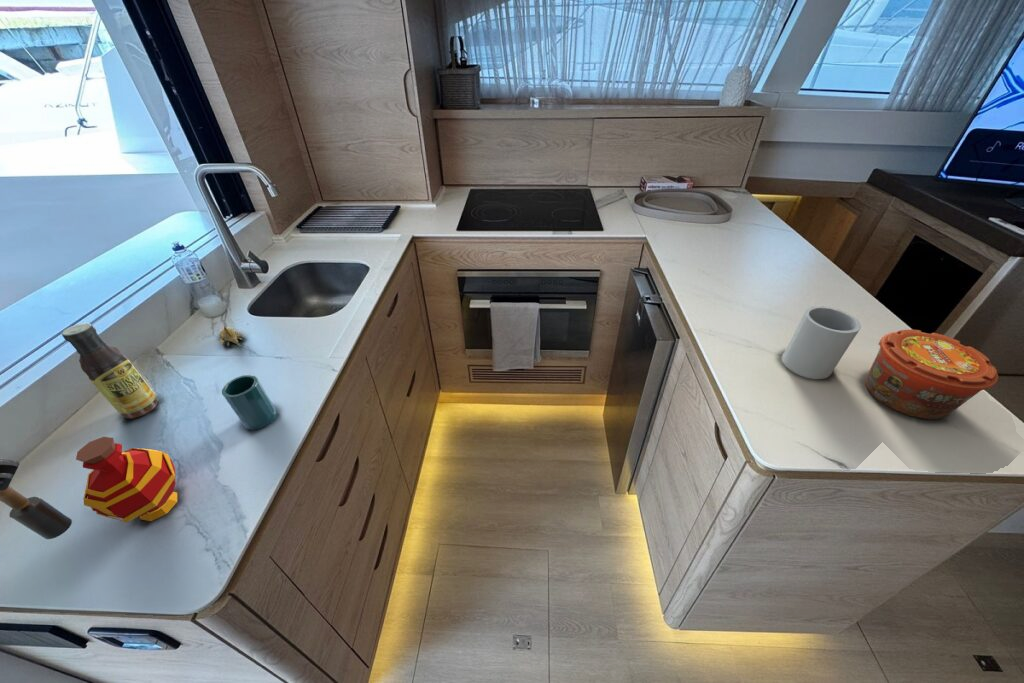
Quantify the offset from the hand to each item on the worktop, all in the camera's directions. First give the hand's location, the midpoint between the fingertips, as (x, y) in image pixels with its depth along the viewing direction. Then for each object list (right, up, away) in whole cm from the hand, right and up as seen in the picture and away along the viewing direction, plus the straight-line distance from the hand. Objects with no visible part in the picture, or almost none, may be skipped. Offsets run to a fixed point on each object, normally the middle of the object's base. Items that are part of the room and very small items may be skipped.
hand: (12, 475), depth 50 cm
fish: (-5, +16, +47) cm, 50 cm away
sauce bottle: (-12, +3, +31) cm, 33 cm away
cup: (+127, +12, +35) cm, 132 cm away
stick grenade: (-1, -10, +6) cm, 12 cm away
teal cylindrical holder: (+14, +2, +28) cm, 31 cm away
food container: (+140, +6, +27) cm, 143 cm away
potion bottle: (+6, -10, +14) cm, 18 cm away
